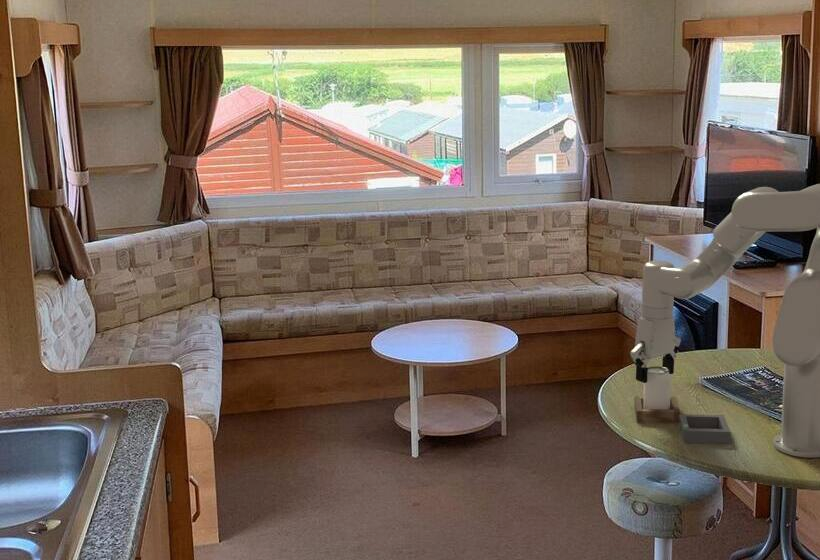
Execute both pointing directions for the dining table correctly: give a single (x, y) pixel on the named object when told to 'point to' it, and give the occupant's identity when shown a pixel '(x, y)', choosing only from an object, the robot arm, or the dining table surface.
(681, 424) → the gray square frame
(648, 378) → the can
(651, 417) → the brown square frame
